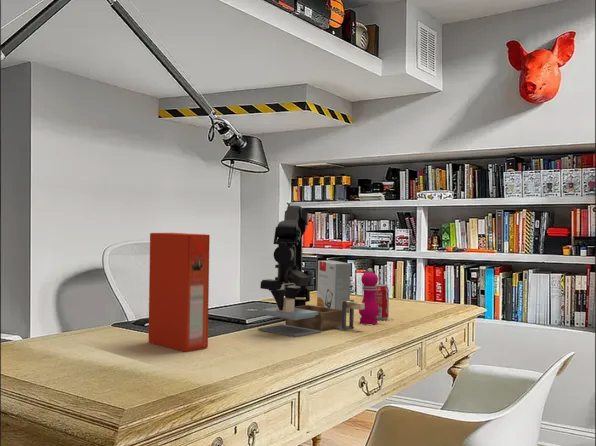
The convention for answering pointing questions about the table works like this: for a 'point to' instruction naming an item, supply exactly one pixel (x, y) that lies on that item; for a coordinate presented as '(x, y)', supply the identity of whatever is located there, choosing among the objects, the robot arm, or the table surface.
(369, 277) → the pepper mill
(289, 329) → the felt pad
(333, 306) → the hard drive box
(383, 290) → the soda can
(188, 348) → the file binder
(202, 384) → the table surface
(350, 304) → the tan wooden bar
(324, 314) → the open wooden box
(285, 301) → the lid
